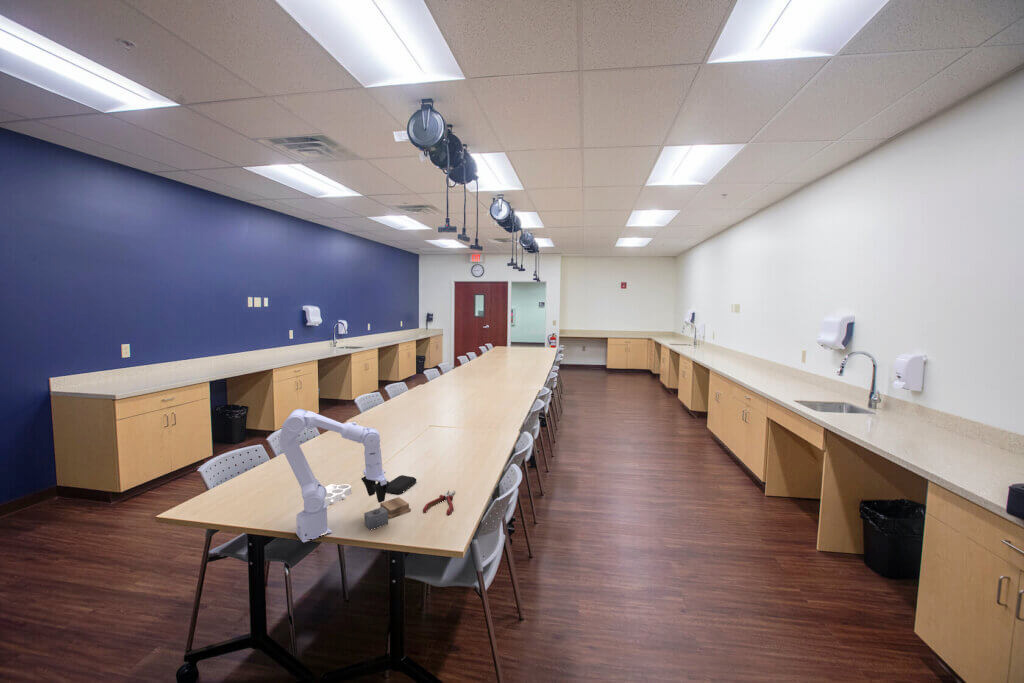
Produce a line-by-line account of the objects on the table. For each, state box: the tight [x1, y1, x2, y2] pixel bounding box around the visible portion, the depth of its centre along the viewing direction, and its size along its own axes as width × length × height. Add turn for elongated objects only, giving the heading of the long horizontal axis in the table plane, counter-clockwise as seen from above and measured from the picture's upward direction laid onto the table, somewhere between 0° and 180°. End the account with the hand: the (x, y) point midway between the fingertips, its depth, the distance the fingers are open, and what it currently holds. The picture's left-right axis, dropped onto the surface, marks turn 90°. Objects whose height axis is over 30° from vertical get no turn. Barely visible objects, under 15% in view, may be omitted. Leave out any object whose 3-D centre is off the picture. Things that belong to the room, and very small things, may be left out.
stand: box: [379, 496, 412, 520], centre depth 161 cm, size 9×9×3 cm
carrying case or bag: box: [386, 474, 417, 495], centre depth 183 cm, size 11×3×15 cm
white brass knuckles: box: [324, 483, 352, 506], centre depth 170 cm, size 3×18×15 cm
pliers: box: [422, 489, 456, 516], centre depth 169 cm, size 12×20×3 cm, turn 170°
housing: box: [363, 506, 389, 531], centre depth 150 cm, size 4×7×5 cm, turn 134°
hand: (376, 498), depth 150 cm, fingers open, 7 cm apart
